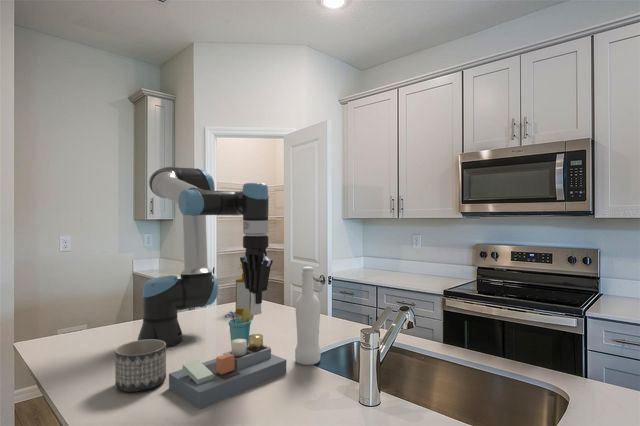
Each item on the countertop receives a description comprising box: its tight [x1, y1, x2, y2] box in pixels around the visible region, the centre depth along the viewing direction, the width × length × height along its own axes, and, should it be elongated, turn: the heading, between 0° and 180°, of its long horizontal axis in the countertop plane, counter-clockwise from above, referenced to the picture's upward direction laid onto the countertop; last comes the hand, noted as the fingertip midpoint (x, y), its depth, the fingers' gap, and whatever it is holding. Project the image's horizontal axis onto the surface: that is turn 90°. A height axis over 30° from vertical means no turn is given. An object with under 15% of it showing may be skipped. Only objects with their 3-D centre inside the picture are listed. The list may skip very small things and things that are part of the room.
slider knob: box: [215, 353, 234, 375], centre depth 104 cm, size 2×4×4 cm, turn 137°
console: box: [168, 344, 287, 410], centre depth 108 cm, size 16×28×7 cm, turn 137°
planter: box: [114, 339, 167, 392], centre depth 106 cm, size 13×13×10 cm
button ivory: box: [231, 339, 247, 356], centre depth 110 cm, size 4×4×4 cm
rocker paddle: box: [181, 359, 214, 384], centre depth 101 cm, size 8×4×1 cm, turn 47°
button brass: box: [248, 333, 264, 350], centre depth 115 cm, size 4×4×4 cm
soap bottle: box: [235, 263, 251, 315], centre depth 179 cm, size 7×13×24 cm, turn 170°
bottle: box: [294, 266, 322, 366], centre depth 122 cm, size 8×8×30 cm
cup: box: [224, 308, 255, 348], centre depth 129 cm, size 14×8×15 cm, turn 156°
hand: (256, 313), depth 115 cm, fingers closed
